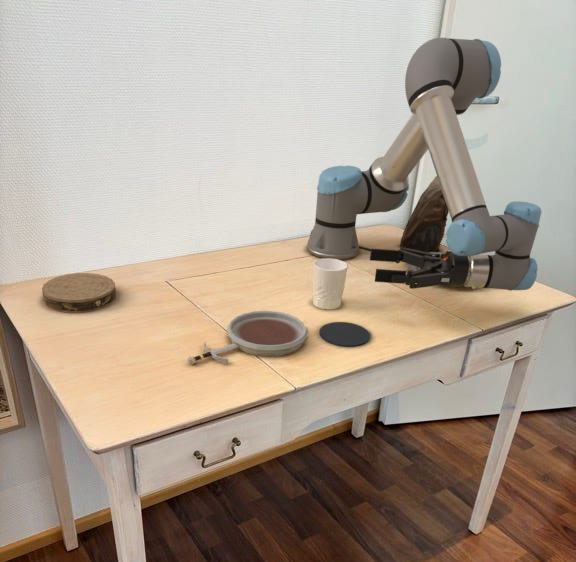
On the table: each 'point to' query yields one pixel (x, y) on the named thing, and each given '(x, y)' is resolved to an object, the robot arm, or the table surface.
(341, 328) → the coaster
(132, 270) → the table surface
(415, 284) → the robot arm
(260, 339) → the frying pan
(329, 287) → the white cup
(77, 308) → the tin can
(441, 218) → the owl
